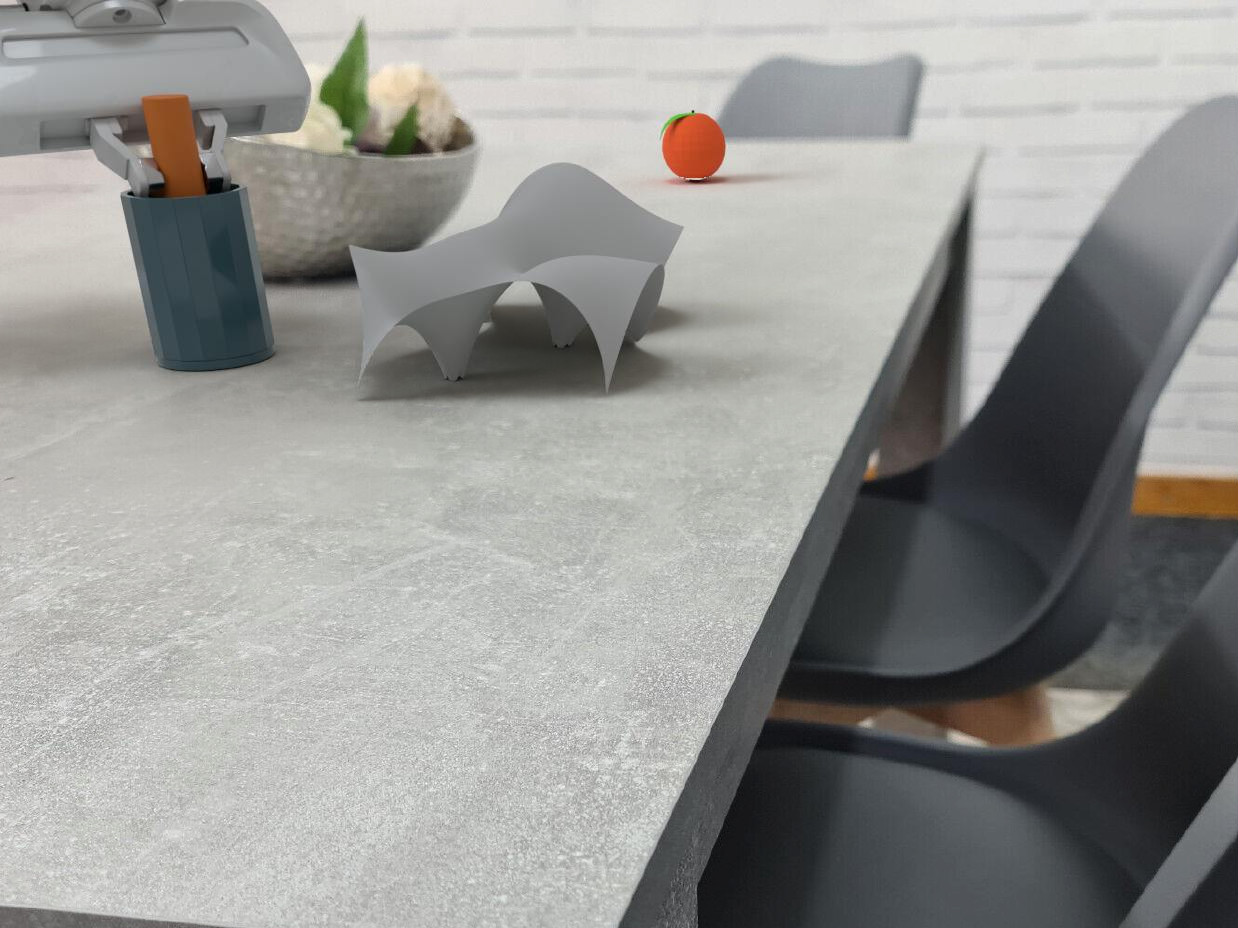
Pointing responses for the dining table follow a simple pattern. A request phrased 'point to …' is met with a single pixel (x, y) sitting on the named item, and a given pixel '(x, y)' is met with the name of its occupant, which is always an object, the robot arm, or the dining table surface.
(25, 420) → the dining table surface
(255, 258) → the can
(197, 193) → the cylinder
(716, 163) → the clementine
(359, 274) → the sculpture
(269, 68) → the robot arm
